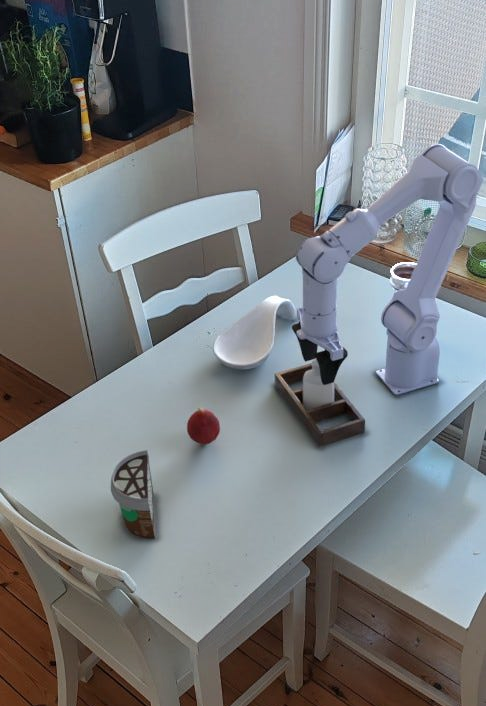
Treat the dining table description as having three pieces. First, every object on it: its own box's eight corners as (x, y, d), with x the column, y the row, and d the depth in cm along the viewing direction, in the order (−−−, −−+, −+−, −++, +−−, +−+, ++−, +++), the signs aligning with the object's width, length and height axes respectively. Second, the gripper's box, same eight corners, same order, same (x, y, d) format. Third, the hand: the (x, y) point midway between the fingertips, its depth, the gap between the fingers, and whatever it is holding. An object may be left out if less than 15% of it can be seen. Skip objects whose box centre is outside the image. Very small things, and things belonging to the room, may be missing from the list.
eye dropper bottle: (321, 420, 168) (322, 368, 160) (299, 407, 172) (298, 355, 163) (337, 409, 171) (339, 357, 162) (315, 396, 174) (315, 344, 166)
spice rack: (317, 373, 179) (318, 361, 177) (364, 432, 166) (365, 420, 163) (274, 386, 177) (274, 373, 175) (318, 447, 163) (319, 434, 161)
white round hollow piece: (422, 331, 187) (427, 279, 179) (388, 332, 188) (392, 281, 180) (418, 312, 192) (423, 261, 184) (385, 313, 193) (389, 262, 185)
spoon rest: (254, 385, 177) (253, 354, 172) (202, 368, 182) (200, 338, 177) (311, 322, 192) (311, 292, 187) (261, 308, 197) (260, 279, 192)
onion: (225, 435, 167) (222, 401, 161) (214, 456, 163) (211, 421, 157) (195, 430, 168) (192, 395, 163) (184, 450, 164) (179, 415, 159)
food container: (118, 495, 157) (109, 451, 150) (154, 491, 157) (147, 447, 150) (116, 548, 148) (107, 505, 141) (155, 545, 148) (147, 501, 141)
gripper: (280, 291, 160) (281, 354, 169) (316, 334, 150) (315, 399, 159) (317, 281, 162) (316, 345, 171) (355, 323, 152) (352, 388, 161)
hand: (318, 370), depth 165 cm, fingers open, 7 cm apart
